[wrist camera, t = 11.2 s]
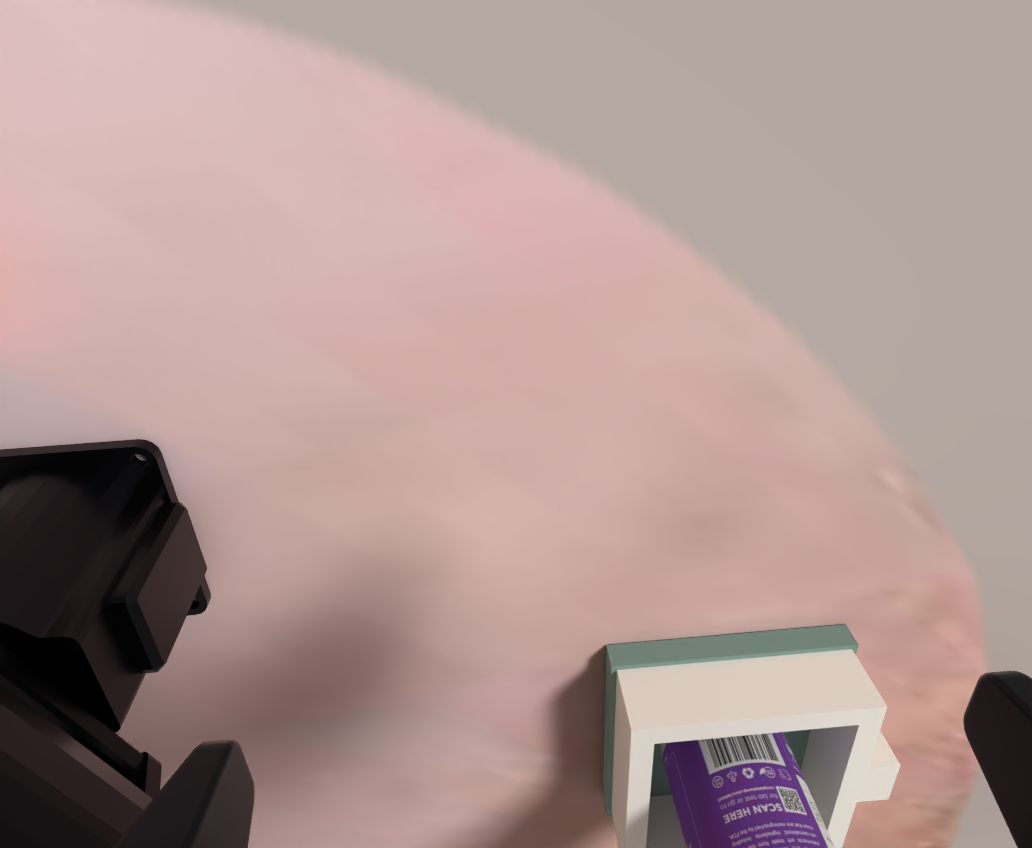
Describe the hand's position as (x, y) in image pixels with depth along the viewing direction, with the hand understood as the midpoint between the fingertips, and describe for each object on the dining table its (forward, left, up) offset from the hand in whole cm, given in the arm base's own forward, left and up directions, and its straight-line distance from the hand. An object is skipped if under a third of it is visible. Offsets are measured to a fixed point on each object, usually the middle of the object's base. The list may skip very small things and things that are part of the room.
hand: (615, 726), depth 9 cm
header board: (+7, -18, -13) cm, 23 cm away
